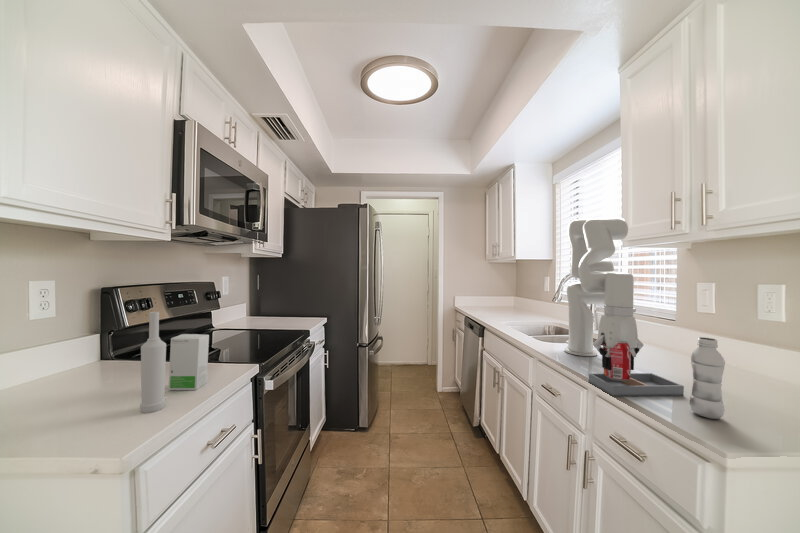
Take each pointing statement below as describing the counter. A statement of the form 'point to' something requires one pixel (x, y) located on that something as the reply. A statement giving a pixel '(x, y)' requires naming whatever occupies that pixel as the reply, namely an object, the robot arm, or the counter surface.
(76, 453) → the counter surface
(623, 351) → the soda can
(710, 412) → the plastic bottle
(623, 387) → the grey divided tray
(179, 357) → the skincare box
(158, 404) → the bottle
